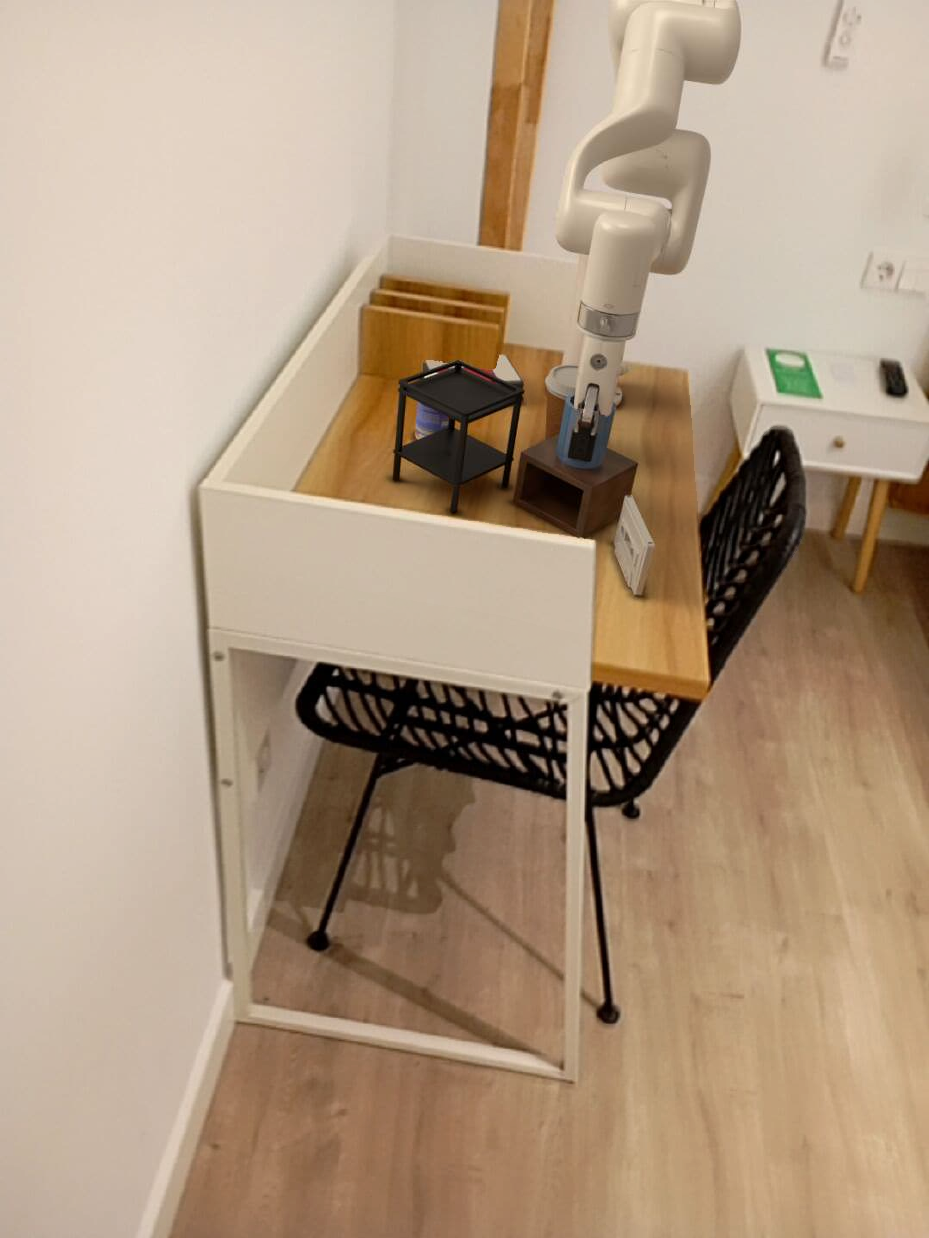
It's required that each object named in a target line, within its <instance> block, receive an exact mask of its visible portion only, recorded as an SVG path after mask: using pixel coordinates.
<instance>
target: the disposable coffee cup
mask: <svg viewBox="0 0 929 1238" xmlns="http://www.w3.org/2000/svg"><path fill="white" fill-rule="evenodd" d="M578 367H579V365H571V364H570V365H562V364H559V365H556V366H554V367H552V368H551V369H550V370H549V374H548V375H547V376H546V378H545V380H544V383H545V385H546V387H545V388H546V389H547V390H546V391H547V392H546V409H545V410H546V411H545V414H546V415H545V436H544V441H545V440H548V439H550V438H552V437H554V436H556V435H558V434H559V433H560V428H561V423H562V417H563V412H564V406H565V401H566V397H567V396H568V395H570V394H572V393H575V389H576V381H577V373H578Z"/></svg>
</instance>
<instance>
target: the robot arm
mask: <svg viewBox="0 0 929 1238" xmlns="http://www.w3.org/2000/svg"><path fill="white" fill-rule="evenodd" d="M607 20H608V21H607V32H608V42H609V43H608V44H609V49H610V55H611V62H612V67H613V68H612V69H613V79H614V81H613V82H614V86H613V94H612V95H613V96H612V102H611V106H610V112H609V114H608V116H606V117H605V118H604V119H603V120H601V121H600V122H599V123H597V124H596V125H595V126H594V127H593V128H591V130H589V131H588V132H587V133H586V134H585V135H584V136H583V138H582V139H581V140H580V141H579V142H578V144H577V145H576V147H575V148H574V150H573V151H572V153H571V155H570V157H569V159H568V161H567V163H566V167H565V170H564V174H563V178H562V182H561V189H560V194H559V199H558V204H557V209H556V216H555V223H554V225H555V226H554V233H555V238H556V241H557V244H558V245H559V246H560V248H562V249H563V250H564V251H567V252H570V253H573V254H578V264H577V273H576V281H575V285H574V286H575V287H574V293H573V297H572V304H571V310H570V314H569V322H568V327H567V333H566V339H565V342H564V343H565V344H564V350H563V355H562V361H561V365H570V364H571V365H579V367H578V373H577V381H576V389H575V399H574V408H575V410H576V411H578V414H577V419H576V424H575V428H574V429H573V430H572V435H571V440H570V445H569V450H568V458H570V459H575V460H580V461H585V462H590V461H591V460H592V455H593V451H594V446H595V441H596V436H597V433H595V432H596V427H597V422H598V417H599V415H600V413H601V414H602V415H605V416H606V417H607V416H609V415H610V414H611V410H612V406H613V402H614V403H615V404H616V407H617V406H618V405H620V403H621V402H622V398H623V390H622V389H621V388H620V387H619V386H618V384H619V379H620V377H621V376H623V375H626V374H628V373H629V370H630V367H629V365H628V364H627V363H626V362H623V361H624V354H625V349H626V343H627V341H630V340H632V339H634V338H636V336H637V335H636V334H637V330H638V325H639V321H640V316H641V312H642V306H643V303H644V298H645V294H646V289H647V285H648V280H649V275H650V274H656V275H664V276H676V275H678V274H681V273H682V272H683V271H684V270H685V269H686V267H687V265H688V263H689V261H690V257H691V255H692V250H693V247H694V243H695V238H696V233H697V229H698V225H699V220H700V217H701V212H702V211H701V210H702V207H703V202H704V197H705V193H706V189H707V184H708V179H709V174H710V168H711V160H712V159H711V158H712V153H711V152H712V151H711V144H710V142H709V140H708V139H707V138H706V136H704V135H703V134H701V133H699V132H697V131H693V130H688V129H681V128H677V125H678V120H679V112H680V107H681V102H682V95H683V89H684V83H685V81H686V82H691V83H692V82H693V83H699V84H706V85H713V86H714V85H715V86H717V85H718V86H720V85H722V84H724V83H726V81H728V79H729V78H730V77H731V75H732V74H733V73H732V72H733V71H734V69H735V65H736V63H737V61H738V57H739V52H740V47H741V40H742V21H741V12H740V7H739V3H738V2H737V0H610V2H609V7H608V15H607ZM600 165H601V170H600V171H601V178H602V181H603V182H604V184H605V185H606V186H607V187H609V188H611V189H613V190H616V191H619V192H620V191H621V192H626V193H629V194H636V195H642V196H647V197H654V198H659V199H666V200H667V201H668V202H670V205H671V208H667V207H666V206H665V205H664V204H662V203H661V202H659V201H656V200H652V199H648V198H641V197H634V196H630V195H629V196H628V195H625V194H619V193H613V192H606V191H600V190H594V189H593V190H592V189H586V188H584V186H585V182H586V179H587V177H588V175H589V174H590V173H591V172H592V171H593V170H594V169H595V168H597V167H598V166H600ZM582 404H585V407H584V409H583V408H582ZM594 406H597V407H598V408H597V411H594ZM582 413H583V416H582V419H581V415H582ZM593 415H594V416H595V417H594V422H593V421H592V416H593Z"/></svg>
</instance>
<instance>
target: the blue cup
mask: <svg viewBox="0 0 929 1238" xmlns="http://www.w3.org/2000/svg"><path fill="white" fill-rule="evenodd" d="M574 399H575V393H572V394H570V395H568V396H567V397H566V401H565V406H564V412H563V417H562V423H561V428H560V433H559V439H558V444H557V451H556V456H557V458H558V459H559V460H560V461H561V462H563V463H564V464H566V465H569V466H571V467H575V468H580V469H593V468H597V467H600V466H601V465H602V464H603V463H604V460H605V456H606V451H607V448H608V447H609V442H610V437H611V432H612V428H613V423H614V419H615V415H616V410H617V406H616V404H615V403H614V402H613V406H612V410H611V414H610V415H609V416H607V417H606V416H605V415H602V414H601V413H600V415H599V417H598V422H597V427H596V432H595V433H597V436H596V441H595V446H594V451H593V455H592V460H591V461H590V462H585V461H580V460H575V459H570V458H568V450H569V445H570V440H571V435H572V430H573V429H574V428H575V424H576V419H577V414H578V411H576V410H575V408H574ZM584 407H585V404H582V408H583V409H584ZM597 408H598V407H597V406H594V411H597ZM582 416H583V413H582V415H581V419H582ZM594 417H595V416H594V415H593V416H592V421H593V422H594Z"/></svg>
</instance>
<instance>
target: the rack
mask: <svg viewBox="0 0 929 1238" xmlns="http://www.w3.org/2000/svg"><path fill="white" fill-rule="evenodd" d="M453 366H455V367H454V368H452V369H449V370H446V371H443V372H440V373H438V374H435V375H432V376H429V377H426V378H424V379H422V377H425V376H428V375H431V374H433V373H436V372H439V371H442V370H445V369H447V368H450V367H453ZM462 367H465V368H467V369H469V370H471V371H473V372H475V373H477V374H480V375H482V376H484V377H486V378H488V379H490V380H492V381H495V382H497V383H499V384H501V385H503V386H505V387H507V388H509V389H512V390H514V391H516V392H511V391H509V390H507V389H505V388H503V387H501V386H499V385H497V384H494V383H492V382H490V381H488V380H486V379H484V378H482V377H479V376H477V375H475V374H473V373H471V372H469V371H467V370H465V369H462ZM398 385H399V387H397V392H398V403H397V414H396V417H397V418H396V427H395V442H394V443H395V444H394V449H393V451H392V453H393V467H392V481H393V482H399V481H400V480H401V479H400V478H401V466H402V459H404V460H406V461H408V462H409V463H411V464H413V465H414V466H417V467H419V468H420V469H422V470H424V471H426V472H428V473H429V474H431V475H432V476H433V475H434V476H435V477H437V478H439V479H440V480H443V482H446V483H447V484H450V485H452V491H451V500H450V508H449V512H450V514H451V515H456V514H457V513H458V509H459V502H460V493H461V487H462V486H463V485H465V484H468V483H470V482H472V481H474V480H476V479H478V478H480V477H483V476H485V475H487V474H489V473H491V472H494V471H496V470H497V469H499V468H501V467H503V473H502V479H501V484H500V487H501V488H502V489H508V488H509V486H510V485H509V484H510V478H511V472H512V466H513V462H514V461H515V457H514V452H515V446H516V440H517V434H518V426H519V420H520V414H521V410H522V409H521V407H522V402H523V401H524V396H523V395H524V394H525V391H526V390H525V389H524V388H523V389H521V388H519V387H517V386H514V385H512V384H510V383H508V382H506V381H504V380H501V379H499V378H497V377H495V376H493V375H491V374H489V373H486V372H484V371H482V370H480V369H478V368H476V367H473V366H471V365H469V364H467V363H465V362H463V361H461V360H456V361H453V362H450V363H447V364H444V365H442V366H439V367H436V368H433V369H430V370H427V371H425V372H422V373H421V372H419V373H416V374H414V375H411V376H408V377H405V378H402V379H399V380H398ZM522 396H523V397H522ZM407 397H408V398H410V399H412V400H414V401H415V402H417V403H418V402H420V403H422V404H424V405H426V406H428V407H430V408H432V409H434V410H436V411H438V412H439V413H441V414H443V415H445V416H447V417H449V422H448V427H447V428H445V429H442V430H440V431H437V432H435V433H433V434H430V435H428V436H425V437H423V438H420V439H416V440H413V441H411V442H409V443H406V444H404V445H403V443H404V432H405V431H404V430H405V418H406V407H407ZM512 406H513V407H512ZM510 407H512V413H511V419H510V426H509V432H508V439H507V444H506V445H507V447H506V452H503V451H501V450H499V449H497V448H495V447H494V446H491V445H490V444H487V443H486V442H484V441H481V440H480V439H478V438H476V437H474V436H472V435H470V434H468V430H469V424H471V423H474V422H476V421H479V420H481V419H484V418H486V417H489V416H490V415H493V414H495V413H497V412H500V411H502V410H505V409H507V408H510ZM456 422H457V423H459V429H457V428H456Z"/></svg>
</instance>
